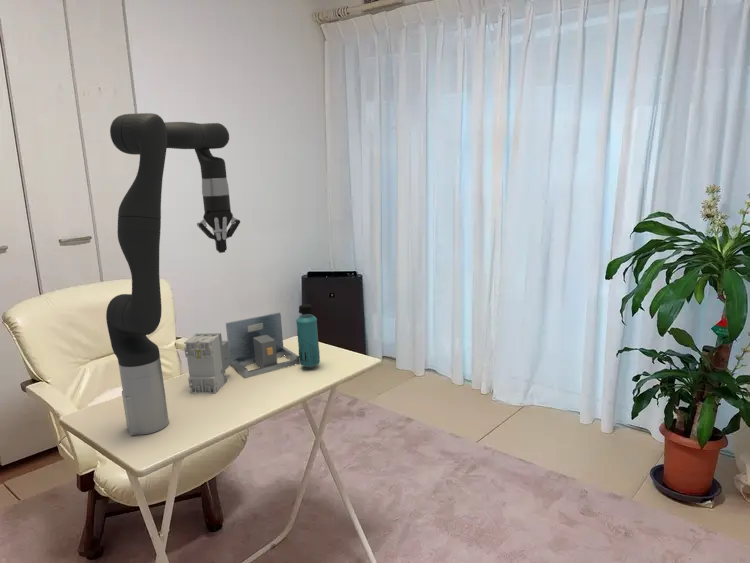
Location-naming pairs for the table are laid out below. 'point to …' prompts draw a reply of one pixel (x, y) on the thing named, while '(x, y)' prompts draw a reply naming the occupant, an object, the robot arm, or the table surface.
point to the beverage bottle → (307, 337)
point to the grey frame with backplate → (243, 344)
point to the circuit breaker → (207, 362)
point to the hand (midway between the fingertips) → (221, 252)
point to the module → (265, 351)
